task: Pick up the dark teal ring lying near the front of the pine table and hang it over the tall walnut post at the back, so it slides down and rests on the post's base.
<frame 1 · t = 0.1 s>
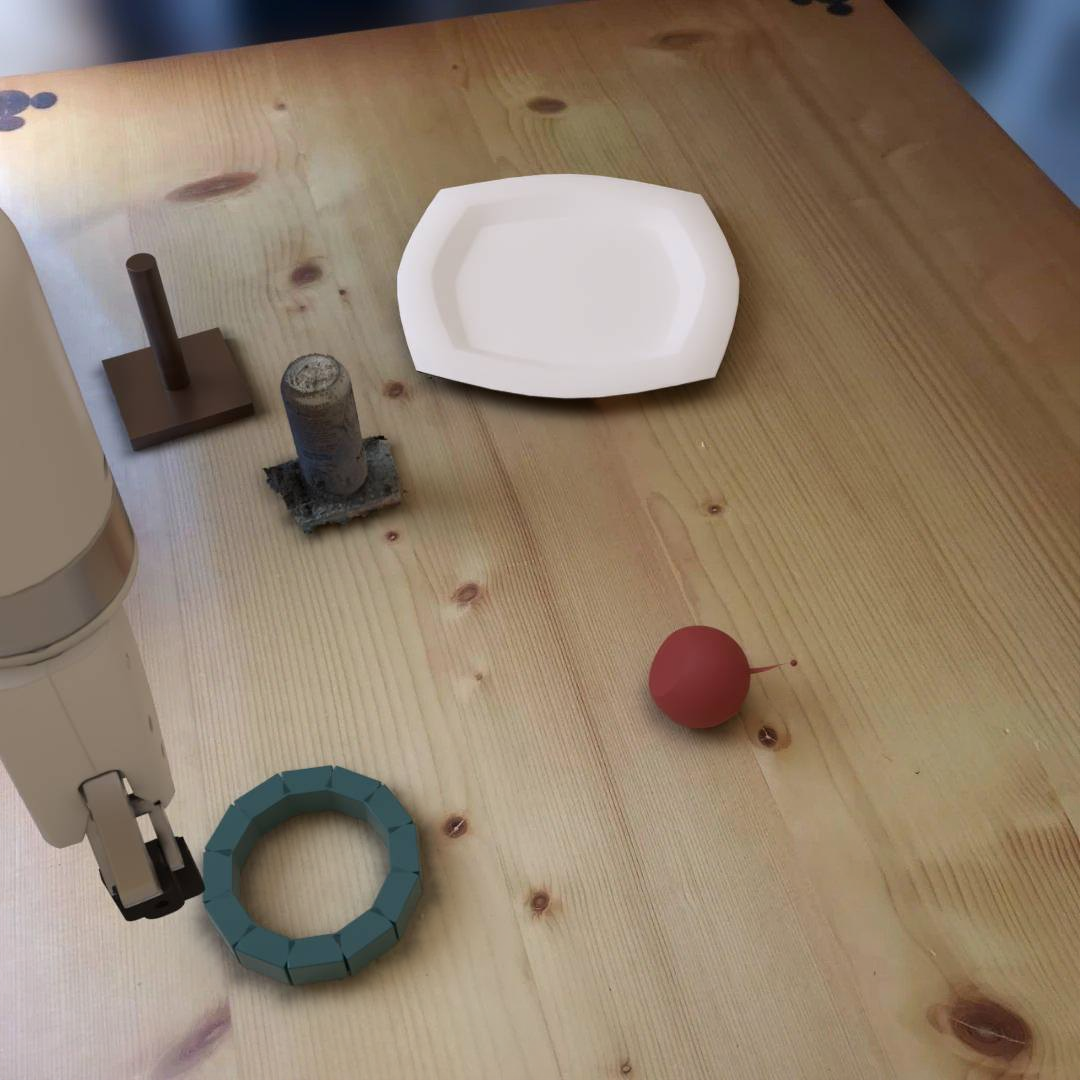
hand: (136, 801, 55), 19 cm above the table, tool pointing down, fingers open, 9 cm apart
ring: (316, 880, 73), on the table
grey piece: (344, 489, 91), on the table
plate: (567, 296, 104), on the table
post: (179, 392, 97), on the table
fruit: (715, 702, 80), on the table
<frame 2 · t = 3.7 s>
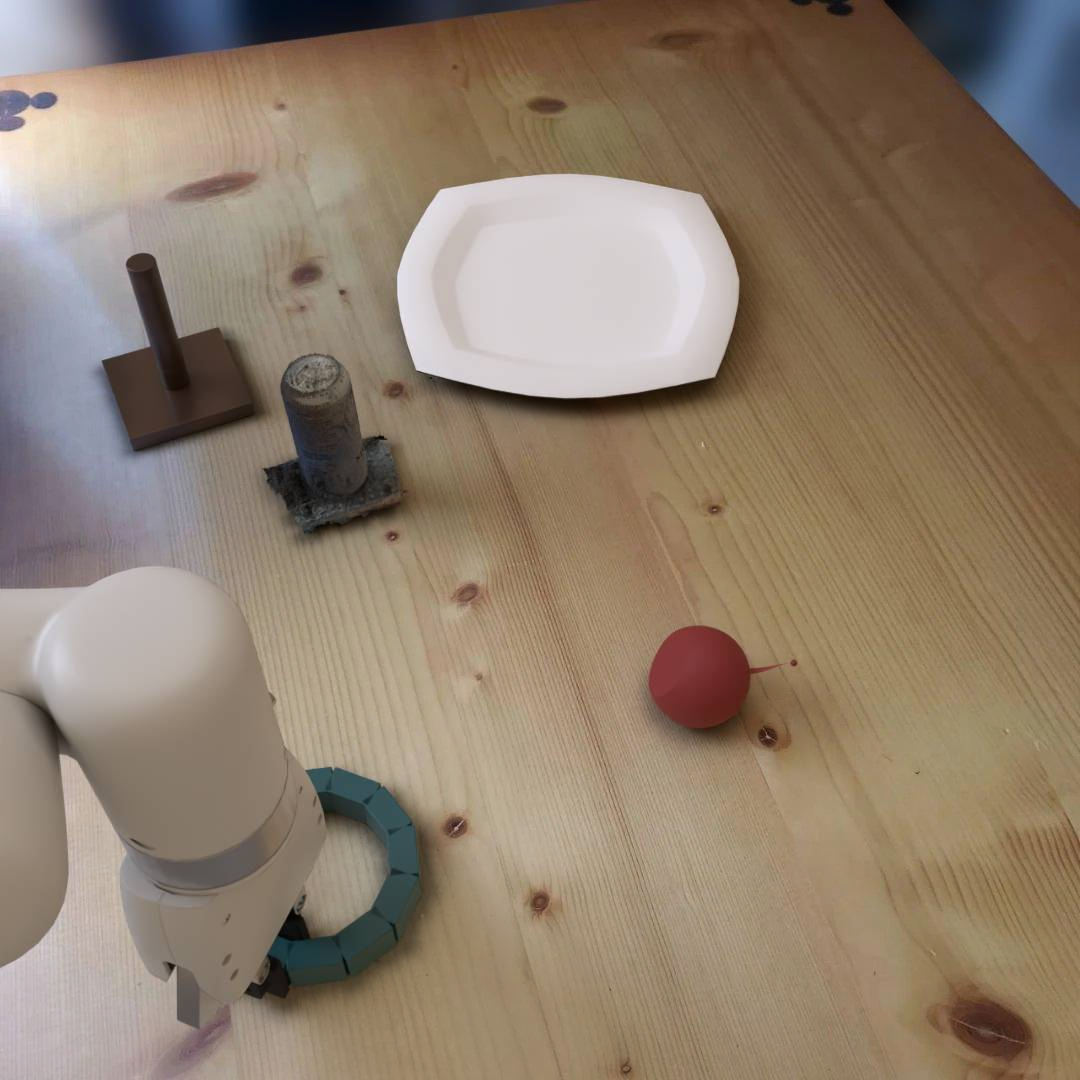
hand: (273, 961, 69), 0 cm above the table, tool pointing down, fingers closed on ring, 1 cm apart
ring: (316, 882, 72), on the table, touching gripper
everything else where it was.
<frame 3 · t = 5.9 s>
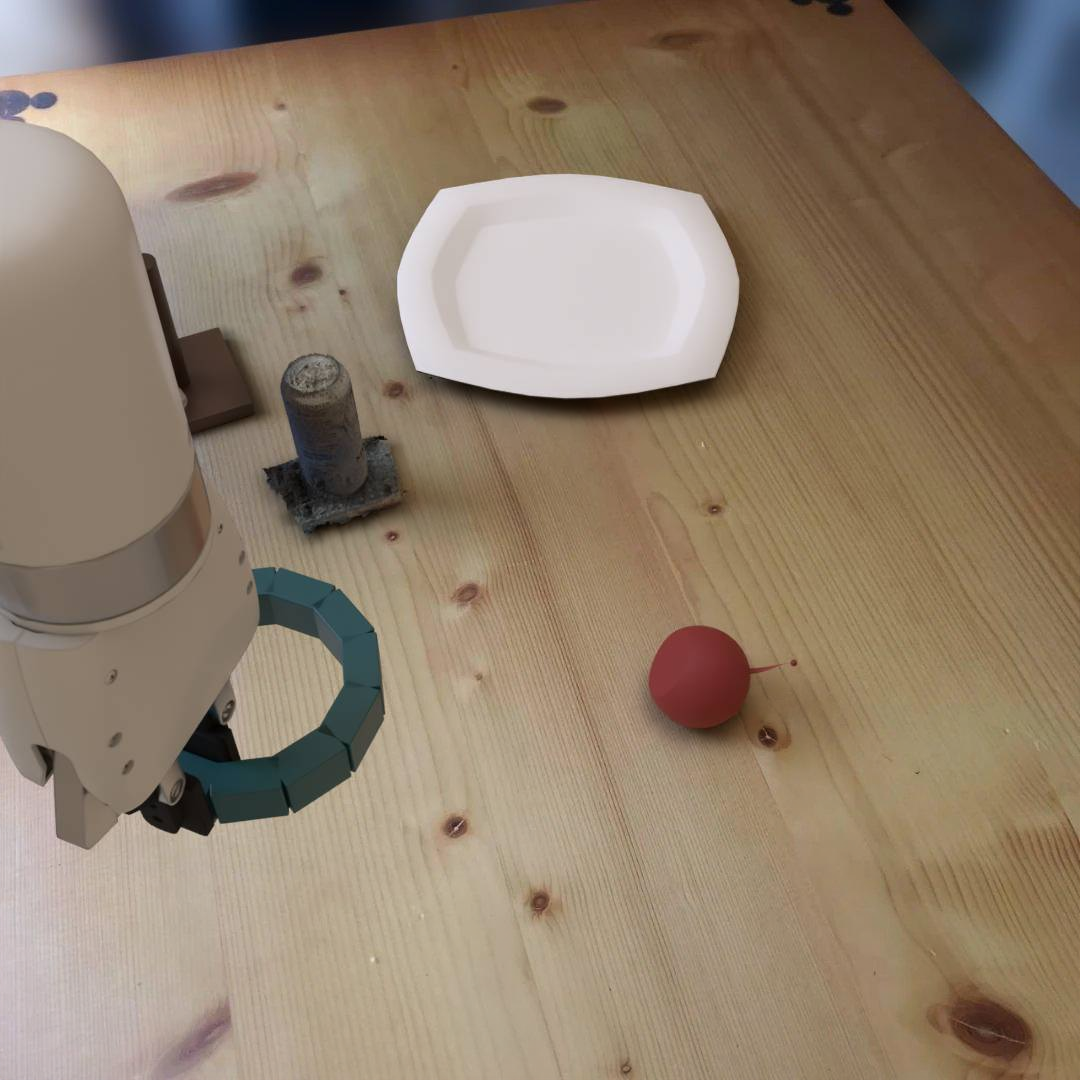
hand: (194, 793, 55), 19 cm above the table, tool pointing down, fingers closed on ring
ring: (253, 703, 58), point 19 cm above the table, touching gripper
everything else where it was.
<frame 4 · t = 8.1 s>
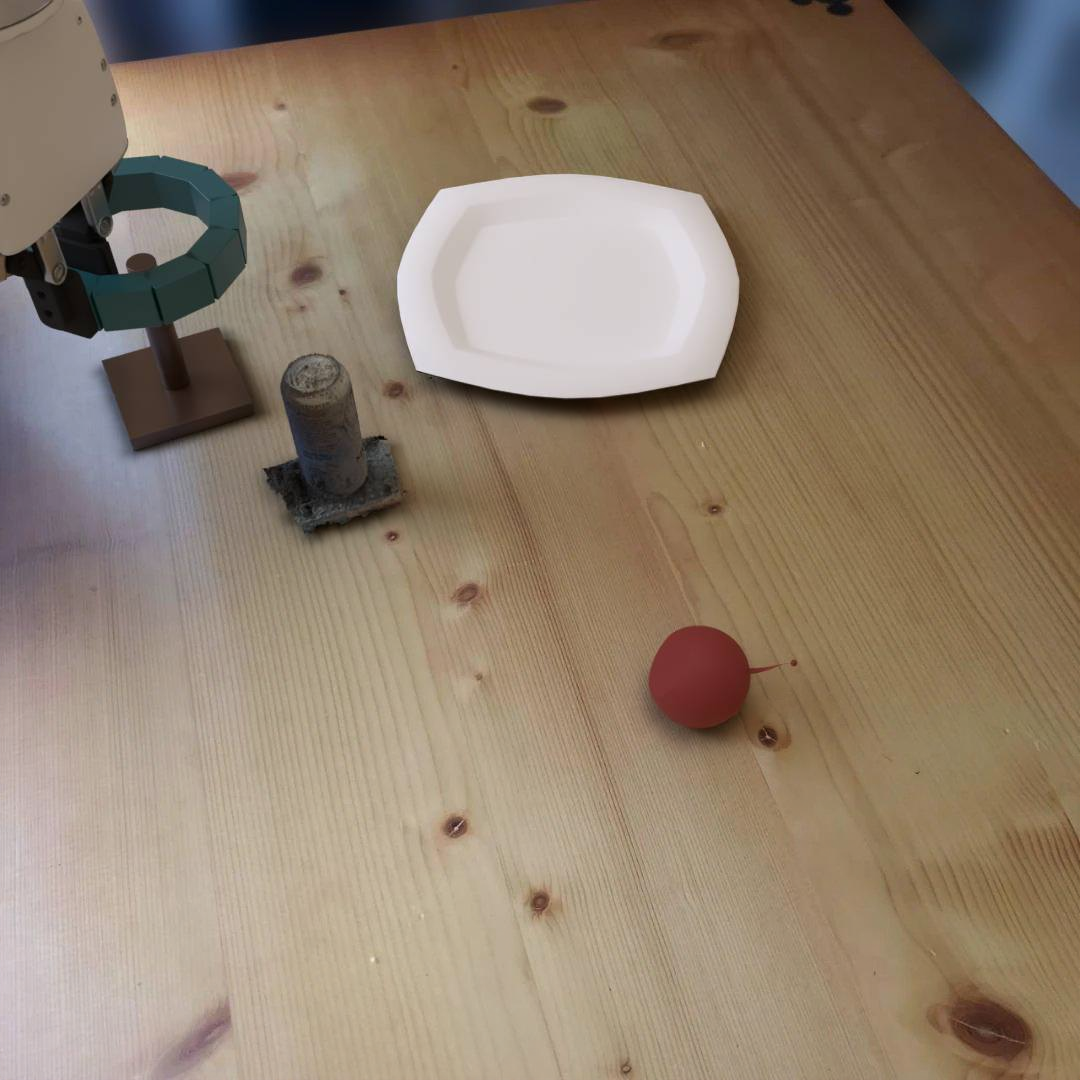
hand: (84, 311, 67), 23 cm above the table, tool pointing down, fingers closed on ring
ring: (138, 257, 70), point 23 cm above the table, touching gripper
everything else where it was.
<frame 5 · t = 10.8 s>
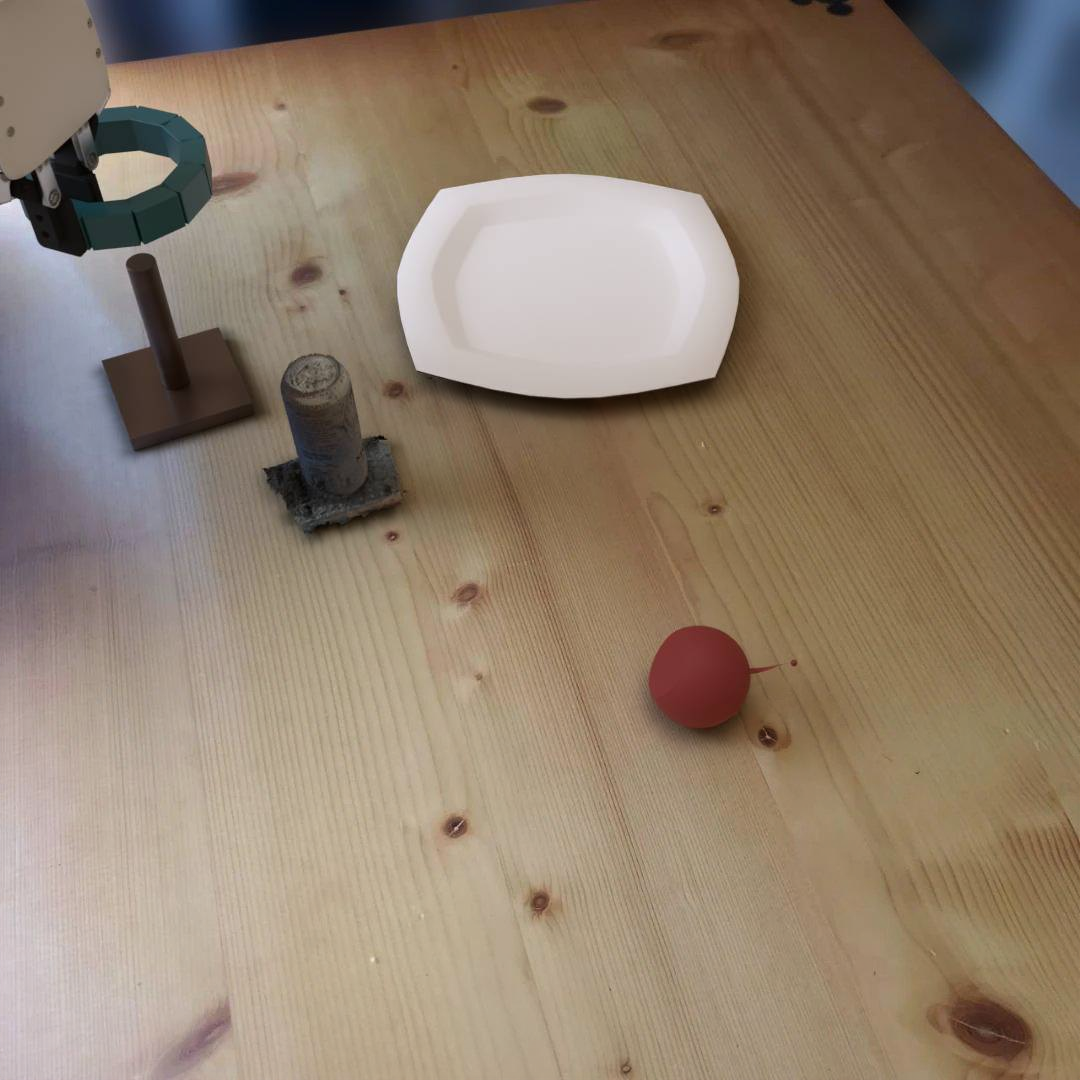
hand: (75, 235, 80), 18 cm above the table, tool pointing down, fingers closed on ring
ring: (120, 191, 83), point 18 cm above the table, touching gripper
everything else where it was.
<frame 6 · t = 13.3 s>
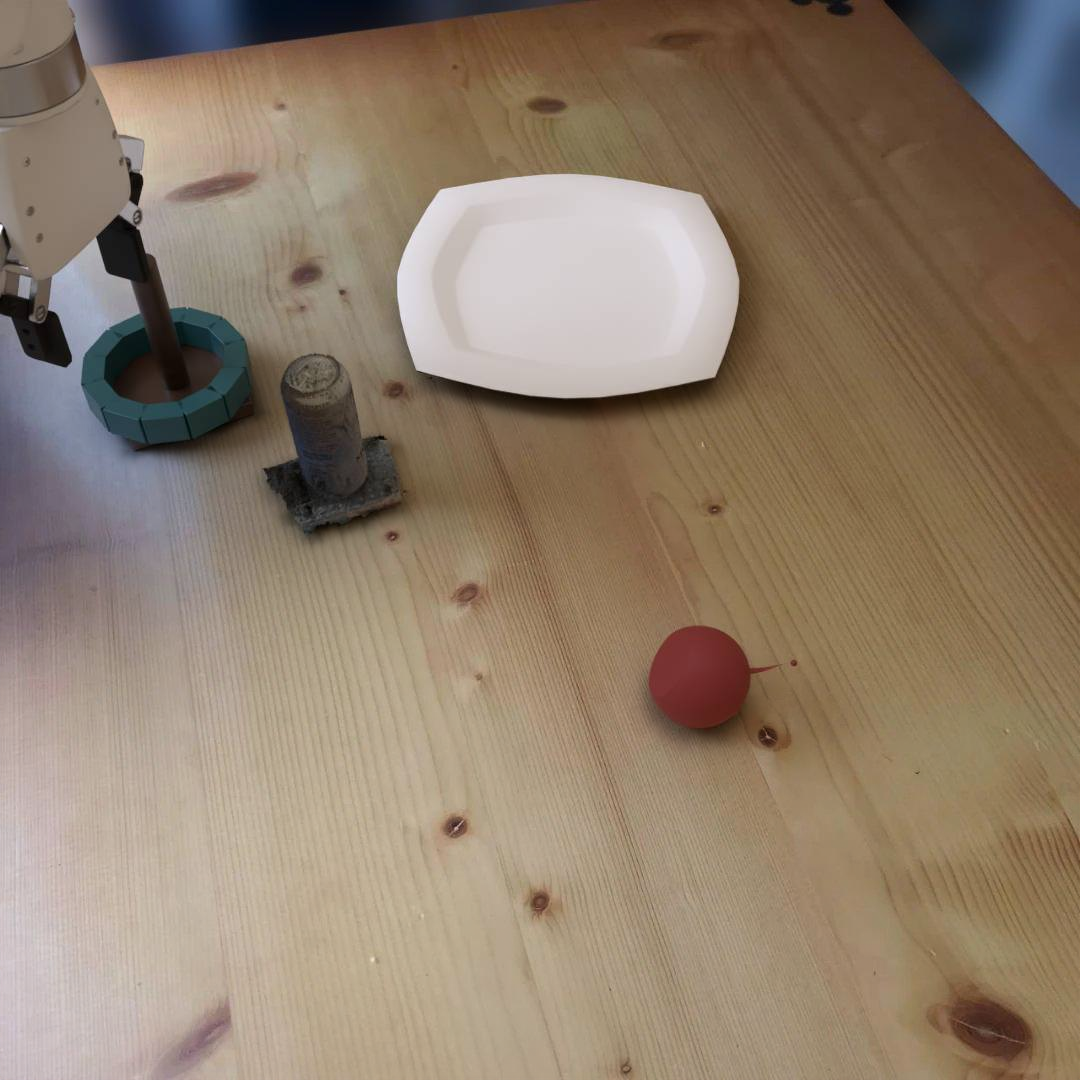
hand: (90, 315, 84), 12 cm above the table, tool pointing down, fingers open, 8 cm apart
ring: (171, 385, 96), point 1 cm above the table, touching post
everything else where it was.
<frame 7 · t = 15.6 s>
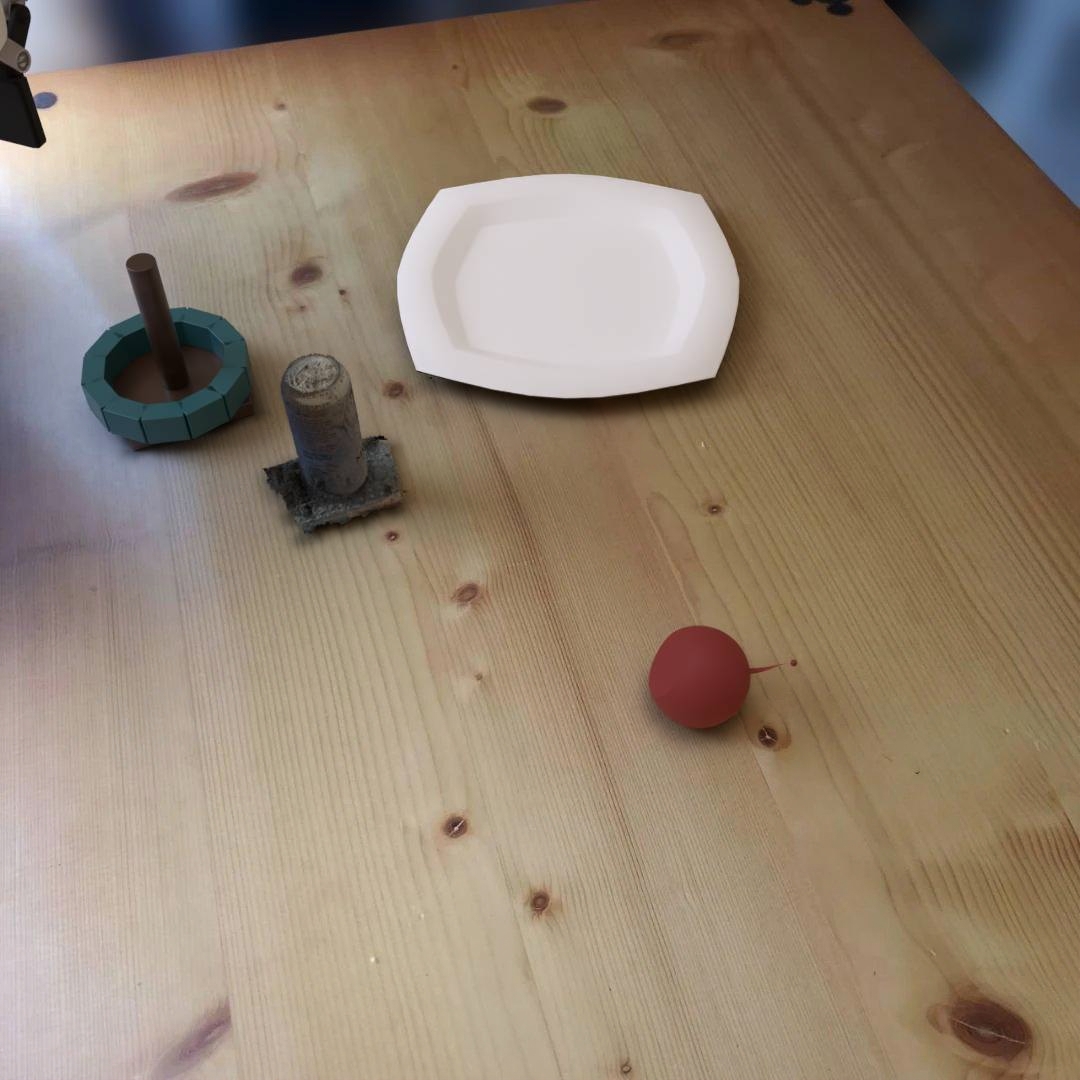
nothing on the table moved.
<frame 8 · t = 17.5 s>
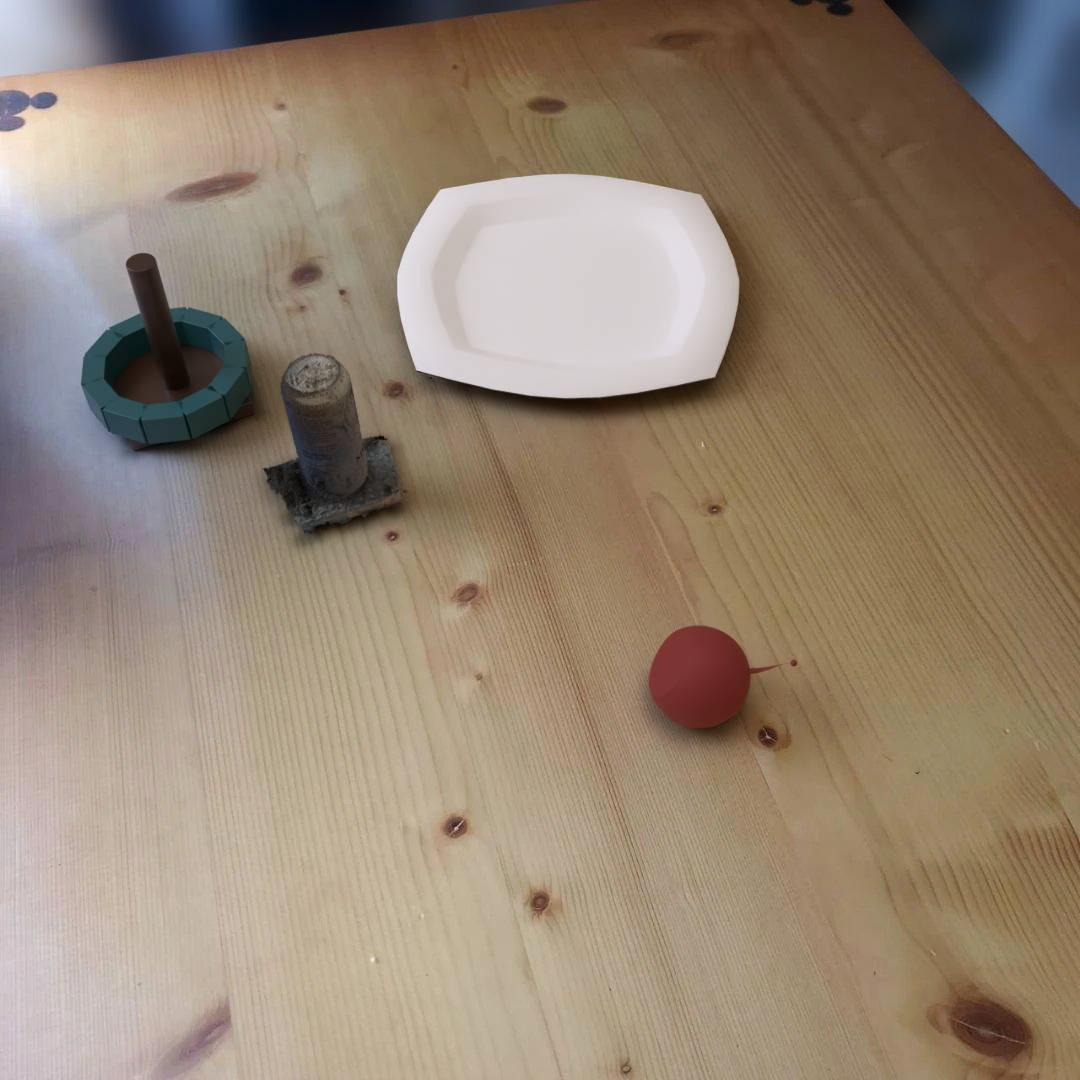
nothing on the table moved.
at the end: ring 0.5 cm from the post (horizontally); ring point 1.2 cm above the table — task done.
